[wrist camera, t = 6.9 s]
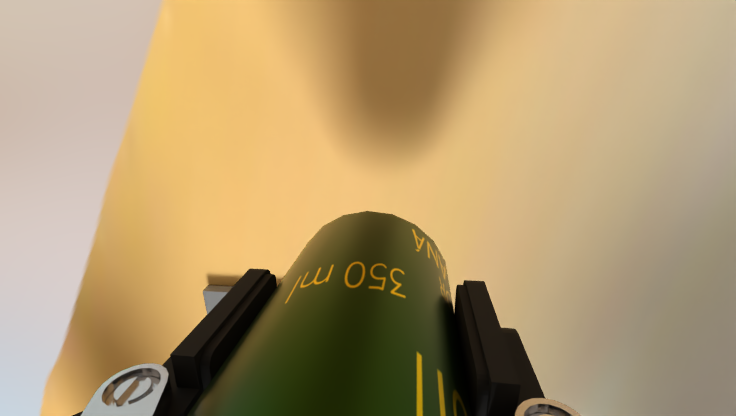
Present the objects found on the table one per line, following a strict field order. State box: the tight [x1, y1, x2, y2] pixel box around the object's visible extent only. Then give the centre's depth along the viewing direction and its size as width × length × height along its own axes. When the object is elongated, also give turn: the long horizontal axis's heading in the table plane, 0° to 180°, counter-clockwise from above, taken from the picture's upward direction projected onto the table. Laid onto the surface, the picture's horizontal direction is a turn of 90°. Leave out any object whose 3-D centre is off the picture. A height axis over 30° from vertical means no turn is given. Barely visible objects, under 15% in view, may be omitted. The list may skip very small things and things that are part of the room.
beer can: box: [187, 211, 472, 416], centre depth 8 cm, size 5×5×12 cm
